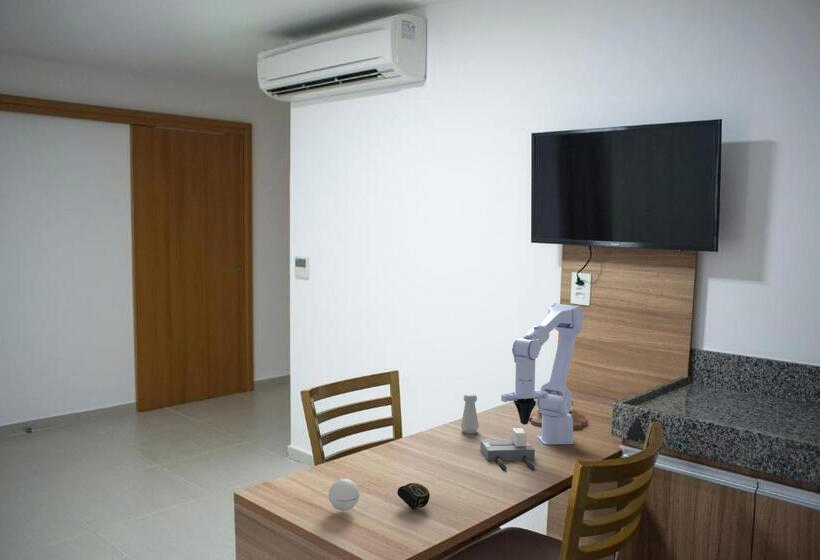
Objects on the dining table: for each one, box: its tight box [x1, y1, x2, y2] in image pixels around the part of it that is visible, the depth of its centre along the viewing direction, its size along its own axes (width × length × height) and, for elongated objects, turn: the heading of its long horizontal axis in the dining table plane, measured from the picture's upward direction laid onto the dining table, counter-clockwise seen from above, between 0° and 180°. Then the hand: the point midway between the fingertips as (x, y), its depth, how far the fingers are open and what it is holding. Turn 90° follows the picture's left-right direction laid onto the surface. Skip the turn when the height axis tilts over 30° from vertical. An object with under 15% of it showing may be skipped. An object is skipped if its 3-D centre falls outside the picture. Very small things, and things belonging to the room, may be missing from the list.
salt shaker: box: [460, 393, 480, 435], centre depth 223 cm, size 6×6×13 cm
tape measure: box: [397, 482, 431, 510], centre depth 164 cm, size 7×7×4 cm
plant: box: [528, 393, 587, 431], centre depth 237 cm, size 20×20×11 cm
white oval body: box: [328, 478, 371, 512], centre depth 160 cm, size 10×7×7 cm
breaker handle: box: [511, 427, 527, 447], centre depth 202 cm, size 3×5×4 cm, turn 6°
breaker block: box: [480, 438, 536, 462], centre depth 202 cm, size 14×10×3 cm
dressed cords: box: [495, 456, 535, 471], centre depth 193 cm, size 9×9×1 cm
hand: (524, 423), depth 202 cm, fingers closed
